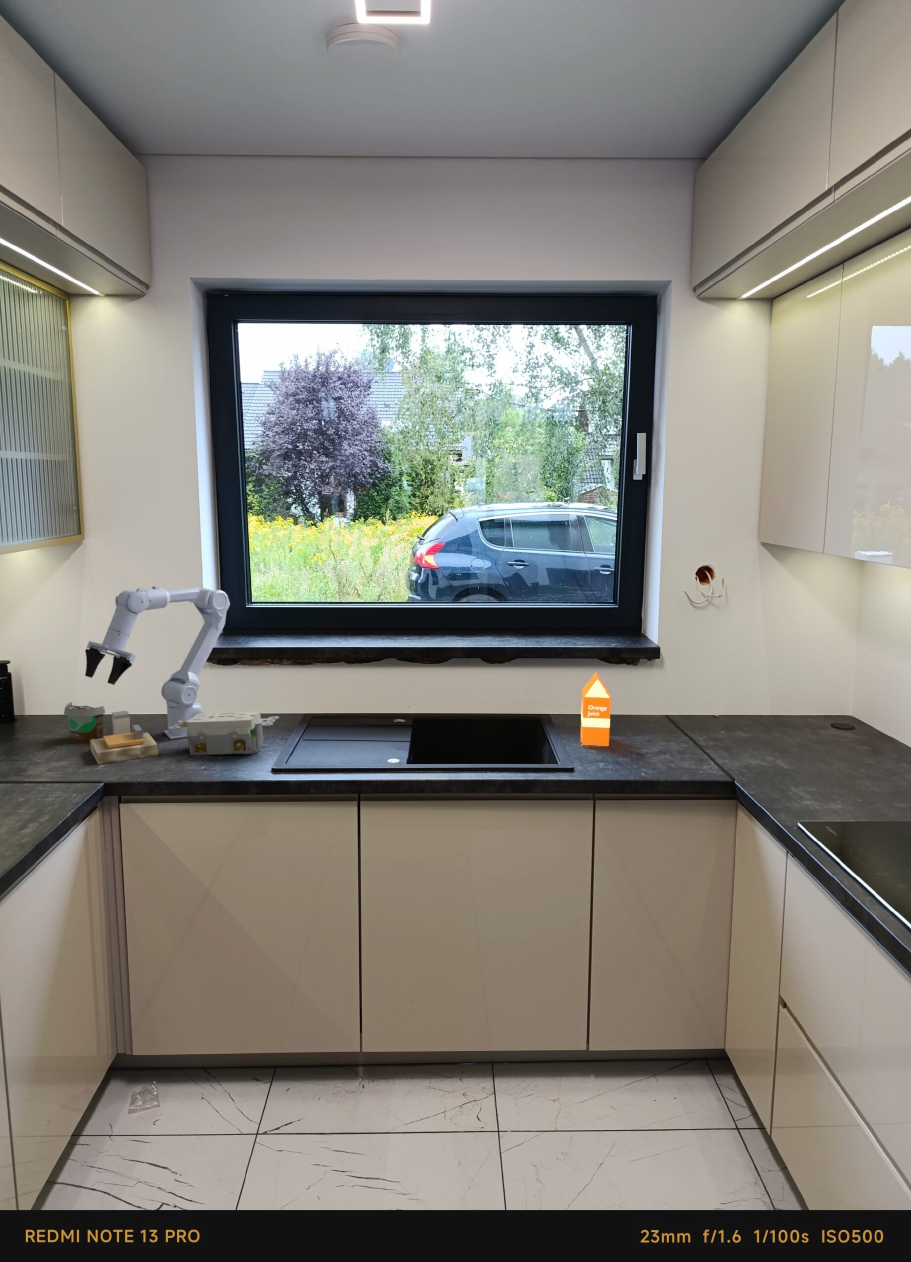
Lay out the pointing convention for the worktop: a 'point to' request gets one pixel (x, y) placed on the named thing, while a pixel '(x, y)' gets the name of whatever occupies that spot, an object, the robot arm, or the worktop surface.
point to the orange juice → (595, 713)
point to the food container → (84, 722)
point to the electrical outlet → (225, 732)
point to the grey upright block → (120, 722)
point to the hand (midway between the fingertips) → (99, 680)
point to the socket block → (123, 750)
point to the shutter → (125, 738)
